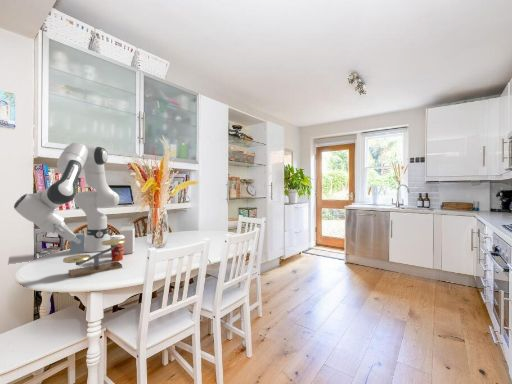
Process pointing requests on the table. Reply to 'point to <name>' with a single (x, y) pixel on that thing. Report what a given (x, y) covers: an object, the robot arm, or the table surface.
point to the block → (77, 247)
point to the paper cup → (117, 249)
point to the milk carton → (128, 237)
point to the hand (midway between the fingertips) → (78, 241)
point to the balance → (96, 268)
